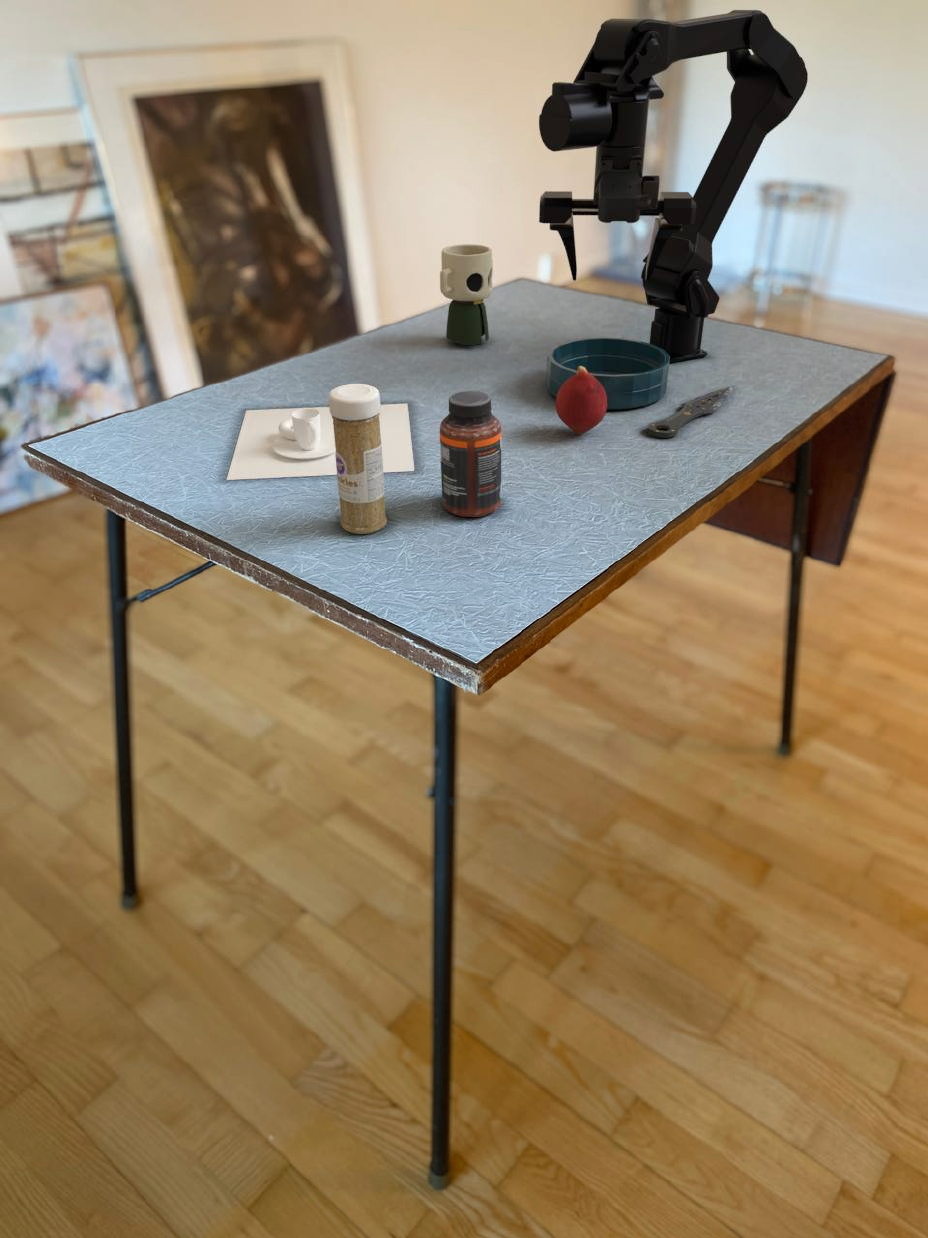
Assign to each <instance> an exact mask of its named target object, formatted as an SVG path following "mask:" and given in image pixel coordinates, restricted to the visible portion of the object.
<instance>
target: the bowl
mask: <svg viewBox="0 0 928 1238" xmlns="http://www.w3.org/2000/svg"><path fill="white" fill-rule="evenodd" d="M649 343H650V342H645V341H642V340H637V339H630V338H624V337H610V336H609V337H608V336H607V337H606V336H601V337H584V338H577V339H572V340H567V341H564V342H561V343H557V344H556V345H554V346H553V347H551V348H550V349H549V351H548V353H547V356H546V376H545V377H546V379H545V380H546V381H545V388H546V389H547V391H548V393H549V394H550V395H552V396H553V397H555V398H557V394H558V392H559V390H560V388H561V387H562V385H563V384H564V383H565V382H566V381H567V380H568V379H569V378H571V377H572V376H574V375H576V374H577V368H578V367H579V366H583V367H585V369H586V370H587V371H588V372H589V373H590V374H591V375H592V376H593V377H595V378H596V379H597V380H598V381H599V382H600V383H601V385H602V386H603V388H604V390H605V392H606V396H607V410H606V411H619V410H629V409H637V408H640V407H643V406H648V405H650V404H653V403H655V402H657V401H660V399H662V398H663V397H664V396H665V395H666V394H667V389H668V388H667V387H668V380H669V379H668V377H669V370H670V362H669V361H670V356H669V355H668V354H667V353H666V352H665V350H663V349H661V348H659V347H657V346H655V345H653V344H649Z"/></svg>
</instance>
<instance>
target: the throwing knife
mask: <svg viewBox="0 0 928 1238" xmlns="http://www.w3.org/2000/svg"><path fill="white" fill-rule="evenodd" d="M734 387H735V385H731V386H726V387H723V388H720V389H718V390H717V389H716V390H714V391H711V392H709V393H706V394H703V395H699V396H697V397H695V398H692V399H690V400H688V401H686V402H683V403H680V406H681V409H679V411H677V412H676V413H673V414H672V415H670V416H669V417H667V418H663V419H660V420H657V421H653V422H649V423H648V425H647V428H646V433H647V434H649V435H651V436H654V437H657V438H662V439H663V438H664V439H665V438H666V439H668V438H673V437H675V436H677V434H678V433H679V431H680V430H681V428H682V427H683V426H685V424H687V423H690V422H691V421H692V420H694V419H696V418H698V417H701V416H706V415H709V414H714V412H716V411H717V410H718V409H719V408H720V407H721V406H722V404H723V403H724V402H725V401H726V400H727V399H728V397H729V396H730V395H731V393H732V391H733V390H734ZM659 429H660V430H659ZM661 429H666V430H661Z"/></svg>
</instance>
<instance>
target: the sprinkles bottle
mask: <svg viewBox="0 0 928 1238" xmlns="http://www.w3.org/2000/svg"><path fill="white" fill-rule="evenodd" d="M380 405H381V395H380V391H379V390H378V388H376V387H375V386H372V385H371V384H365V383H348V384H343V385H338V386H336V387H333V388H332V389H331V390H330V391H329V393H328V407H329V408H330V413H331V415H332V418H333V425H334V437H335V448H336V453H335V456H336V469H337V475H336V479H337V490H338V491H337V493H338V497H339V506H340V507H339V508H340V519H339V520H340V521H339V522H340V525H341V527H342V529H343V530H345V531H347V532H348V533H351V534H356V535H363V534H364V535H365V534H373V533H375V532H378V531H379V530H382V529H383V528H384V527H385V526H386V525H387V524H388V518H387V516H386V506H385V505H386V503H385V492H386V491H385V490H386V489H385V475H384V473H383V457H382V442H381V436H380V421H379V416H380V413H379V412H380V410H381V407H380Z"/></svg>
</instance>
